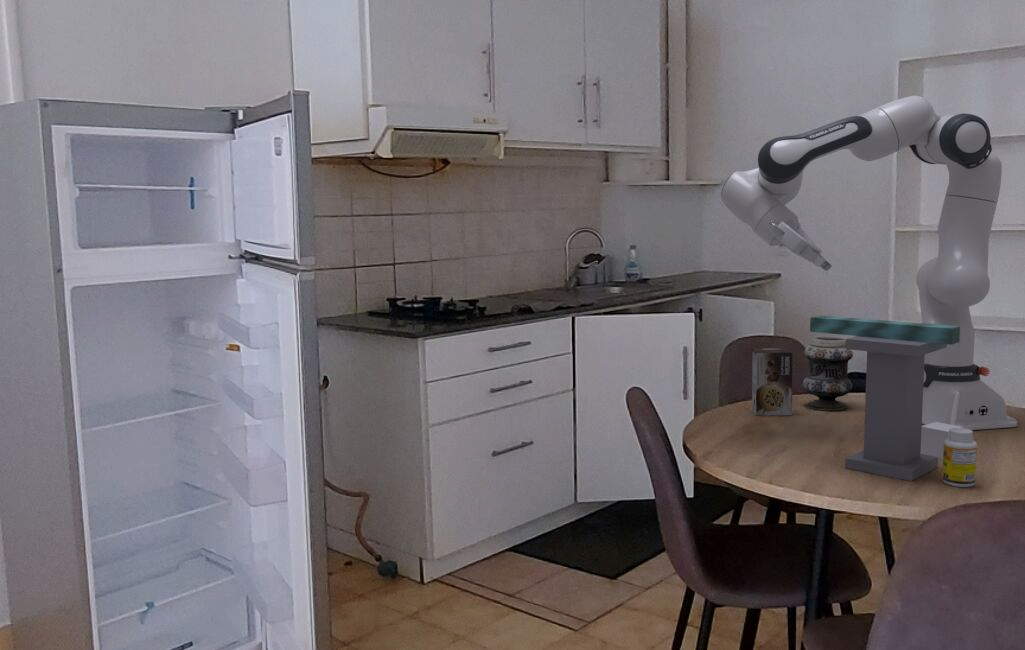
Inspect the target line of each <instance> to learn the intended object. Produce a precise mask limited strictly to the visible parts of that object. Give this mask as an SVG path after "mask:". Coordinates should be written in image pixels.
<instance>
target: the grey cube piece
mask: <svg viewBox="0 0 1025 650" xmlns="http://www.w3.org/2000/svg"><path fill="white" fill-rule="evenodd" d="M951 428H964V427H960V426H954V425H949V424H944V423H939V422H934V423H931V424H927V425H926V424H922V430H921V453H920V454H924V455H930V456H936V457H938V459H941V460H943V453H944V441H945V440H946V439H947V438H949V429H951Z"/></svg>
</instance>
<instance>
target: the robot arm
mask: <svg viewBox="0 0 1025 650" xmlns="http://www.w3.org/2000/svg"><path fill="white" fill-rule="evenodd" d="M991 139H992V138H991V131H990V127H989V125H988V124H987V122H986V121H985V119H983V118H981V117H980V116H978V115H976V114H972V113H957V114H956V113H955V114H953V113H952V114H946V115H942V116H939V115H938V114H936V112H935V110H934V107H933V105H932V104H931V103H930V101H929V100H928V99H927V98H925V97H923V96H920V95H909V96H905V97H902V98H898V99H896V100H892V101H890V102H887V103H884V104H881V105H880V106H877V107H874V108H873V109H871V110H868V111H866V112H864V113H862V114H859V115H853V116H847V117H845V118H842V119H839V120H836V121H834V122H830V123H828V124H825V125H822V126H820V127H817V128H814V129H811V130H809V131H806V132H803V133H800V134H795V135H785V136H779V137H774V138H772V139H770V140H768V141H767V142H765V144H763V146H762V147H761V148H760V150H759V152H758V157H757V168H754V169H750V170H745V171H744V170H743V171H738V170H737V171H735V172H733V173H732V174H731V175H729V176H728V178H727V179H726V181H725V182H724V183H723V186H722V189H721V193H720V195H721V196H720V199H721V202H722V203H723V204H724V206H725V207H726V208H727V209H728V210H729V211H730V213H732V214H733V215H734V216H735V217H736V218H737V219H738V220H739V221H740V222H742V223H744V224H746V225H748V226H749V227H750V228H751V230H752V231H753V232H754V234H756V235H757V236H758V237H759V238H760V239H761V240H763V242H764V243H766V244H767V245H768V246H769V247H774V246H778V247H780V248H782V247H784V248H787V249H788V251H790V252H792V253H793V254H794V255H797V256H798V257H800V258H802V259H804V260H806V261H808V262H809V263H812V264H814V265H815V266H816V267H818V268H819V267H820V268H821V269H823V270H824V271H826V272H829V270H831V268H832V264H831V263H830V262H829V261H828V260H827V259H826V258H825V257H824V256H823V255H822V253H823V252H822V249H821V248H820V246H818V244H817V243H816V242H815V241H814V240H813V239H812V238H811V236H809V235H808V234H807V233H806V232H805V231H804V230H803V228H802V225H801V223H800V222H799V216H798V215H797V214H796V213H795V212H793V211H792V210H791V209H789V207H788V206H786V205H787V204H788V203H789V202H791V201H792V200H793V199H795V198H796V196H797V195H798V194H799V192H800V190H801V186H802V183H803V182H802V181H803V173H804V171H805V169H806V167H807V166H808V165H809V164H810V163H811V162H813V161H815V160H817V159H820V158H823V157H825V156H828V155H830V154H831V155H832V154H834V153H836V152H839V151H842V150H848V151H850V153H851V154H852V155H854V157H856V158H858V159H859V160H862V161H864V162H865V161H866V162H873V161H877V160H880V159H883V158H886V157H888V156H890V155H892V154H895V153H896V152H898V151H901V150H903V149H904V148H907V147H909V148H910V150H911V151H912V153H913V154H914V156H915V157H916V158H917V159H918V160H920V161H921V162H923V163H926V164H929V165H944V166H945V165H946V169H947V171H948V185H947V187H946V191H945V195H944V199H943V204H942V207H941V208H942V209H941V212H940V216H939V221H938V226H937V233H938V234H937V235H938V255H937V257H933V258H932V259H929V260H927V261H926V262H924V263H923V264H922V265H921V266H920V267H919V268H918V270H917V272H916V276H915V278H916V279H915V280H916V281H915V282H916V286H917V289H918V294H919V295H918V296H919V305H920V306H919V308H920V315H921V321H922V322H921V323H923V324H936V325H949V326H960V341H959V342H958V343H955V344H952V345H950V344H947V347H946V348H943V349H940V350H937V351H934V352H931V353H928V354H925V360H924V383H923V407H922V425H927V424H931V423H934V422H939V423H944V424H949V425H954V426H960V427H964V429H969V430H972V431H976V430H978V431H979V430H989V429H990V430H991V429H1002V428H1003V429H1005V428H1017V427H1018V421H1017V419H1015V418H1013V417H1012V416H1009V415H1008V413H1007V405H1006V401H1005V399H1004V397H1003V396H1002V395H1000V393H998V392H997V391H995V390H994V389H993V388H992V387H990V386H989V385H988V384H986V383H985V382H984V381H982V380H981V376H983V377H987V376H989V375H990V372H991V371H990V368H988V367H986V366H979V365H977V364H975V363H974V357H975V355H974V354H975V337H976V334H975V333H976V332H975V327H974V326H973V325H974V324H973V323H972V318H971V317H972V316H971V311H970V310H971V309H970V307H973V306H975V305H977V304H979V303H981V302H982V301H983V300H984V299H986V297H987V296H988V294H989V292H990V288H991V280H990V278H989V272H988V271H989V269H988V268H989V247H990V246H989V245H990V244H989V243H990V236H991V235H990V234H991V231H992V226H993V222H994V218H995V214H996V209H997V206H998V201H999V197H1000V191H1001V185H1002V172H1003V171H1002V169H1003V168H1002V167H1003V166H1002V162H1001V159H1000V158H999V157H998V156H996V155H995V154H993V153H992V150H993V147H992V143H991Z"/></svg>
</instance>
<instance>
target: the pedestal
mask: <svg viewBox="0 0 1025 650" xmlns="http://www.w3.org/2000/svg"><path fill="white" fill-rule="evenodd" d="M845 339H846V349H850V350H852V351H861V352H862V351H863V352H866V373H865V375H866V376H865V403H864V404H865V406H864V430H863V450H861V451H858V452H857V453H855V454H853V455H850V456H848V457H846V458H845V463H844V464H845V465H844V466H845V467H844V468H845V469H847V470H852V471H858V472H863V473H867V474H873V475H877V476H882V477H888V478H891V479H893V478H894V479H897V480H904V481H907V482H908V481H909V482H913V481H915V480H917V479H918V478H920V477H922V476H923V475H926V474H927V473H929V472H931V471H932V470H934V469H936V468H938V465H939V458H938V457H936V456H930V455H924V454H920V453H921V430H922V426H923V424H922V407H923V383H924V360H925V354H928V353H931V352H934V351H937V350H940V349H943V348H946V347H947V344H939V343H928V342H917V341H906V340H895V339H884V338H873V337H862V336H853V337H848V338H845Z"/></svg>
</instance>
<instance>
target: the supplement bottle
mask: <svg viewBox="0 0 1025 650" xmlns="http://www.w3.org/2000/svg"><path fill="white" fill-rule="evenodd" d="M973 431H974V430H969V429H964V428H951V429H949V438H947V439H946V440H945V441H944V453H943V459H942V481H943V483H944V484H946V485H949V486H951V487H958V488H970V487H973V486H974V485H975V484H976V475H977V454H978V453H977V452H978V451H977V449H978V444H977V442H976V441H975V440H974V438H973V437H974V436H973V435H974V433H973Z"/></svg>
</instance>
